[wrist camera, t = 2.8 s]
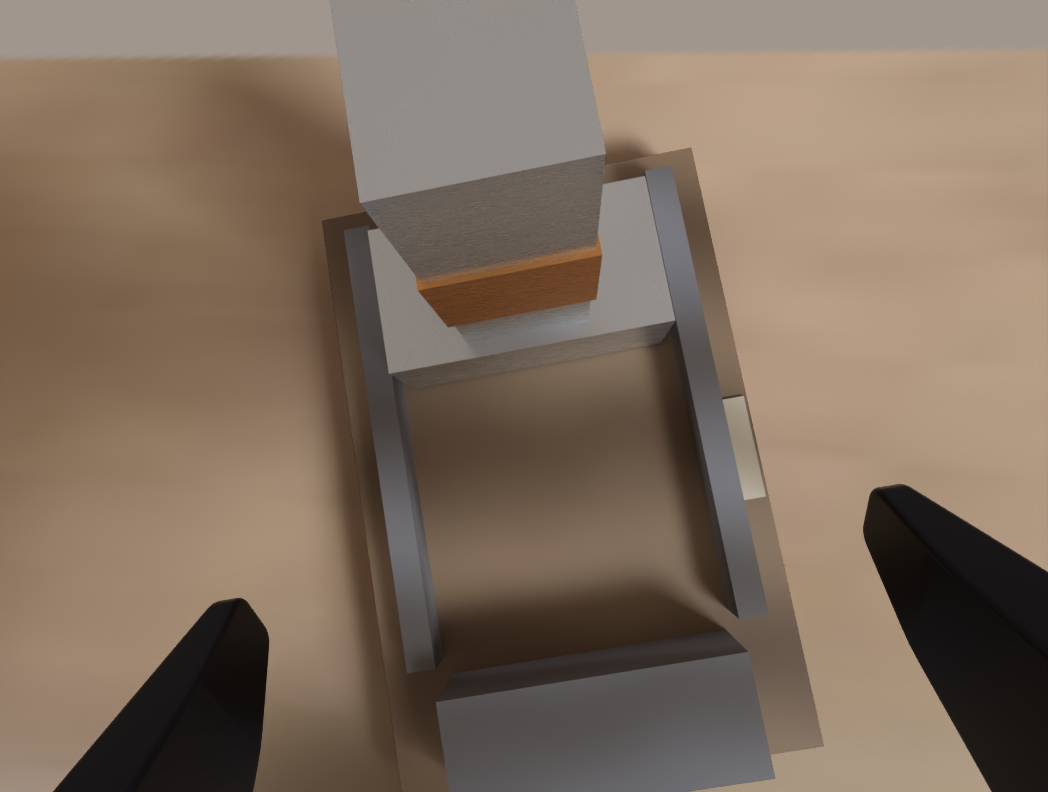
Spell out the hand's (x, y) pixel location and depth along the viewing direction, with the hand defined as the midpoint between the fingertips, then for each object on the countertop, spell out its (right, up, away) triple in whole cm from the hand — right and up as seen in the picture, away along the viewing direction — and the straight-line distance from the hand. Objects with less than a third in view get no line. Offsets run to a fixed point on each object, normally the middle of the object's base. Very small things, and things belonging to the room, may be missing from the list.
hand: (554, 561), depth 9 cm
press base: (+1, 0, +12) cm, 12 cm away
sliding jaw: (0, +5, +11) cm, 12 cm away
